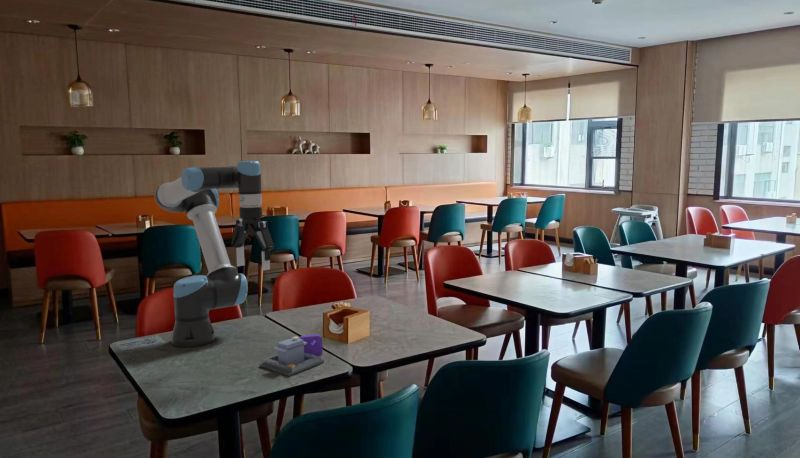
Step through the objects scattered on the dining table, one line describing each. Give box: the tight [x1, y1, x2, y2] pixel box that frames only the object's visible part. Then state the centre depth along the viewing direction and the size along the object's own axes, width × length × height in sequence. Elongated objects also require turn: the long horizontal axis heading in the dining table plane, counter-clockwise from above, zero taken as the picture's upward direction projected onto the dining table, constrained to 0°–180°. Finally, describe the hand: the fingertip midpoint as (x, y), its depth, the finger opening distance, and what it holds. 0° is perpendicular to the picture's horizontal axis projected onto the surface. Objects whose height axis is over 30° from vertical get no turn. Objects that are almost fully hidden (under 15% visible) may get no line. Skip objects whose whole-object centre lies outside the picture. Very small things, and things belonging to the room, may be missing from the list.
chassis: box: [258, 352, 325, 377], centre depth 194 cm, size 14×15×3 cm
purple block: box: [300, 333, 323, 356], centre depth 209 cm, size 12×7×7 cm, turn 17°
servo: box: [273, 336, 307, 365], centre depth 194 cm, size 4×10×8 cm, turn 142°
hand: (253, 267), depth 208 cm, fingers open, 13 cm apart
